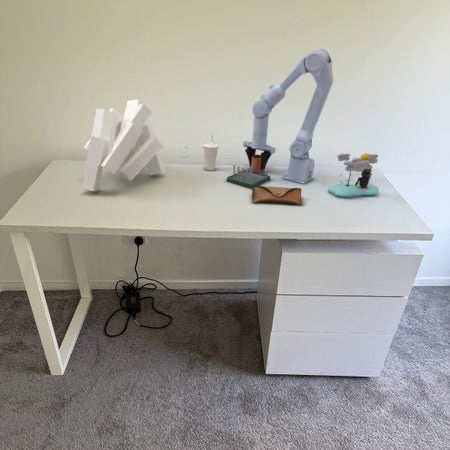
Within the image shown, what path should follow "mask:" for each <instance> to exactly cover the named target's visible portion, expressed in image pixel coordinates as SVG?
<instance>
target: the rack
mask: <svg viewBox="0 0 450 450" xmlns="http://www.w3.org/2000/svg"><path fill="white" fill-rule="evenodd" d="M232 170H233V171H232V174H231V175H229V176H227V177H226V182H227V183H231V184H234V185H238V186H241V187H244V188H247V189H251V190H253V187H254V186H262V185H263V184H265V183H267V182H269V181H271V175H268V173H269V171H268V170H266V171H265V174H264V173H257V172H254V171H252V167H250V166H249V168H245V169H244V166H243V167H241V170H240V166H239V165H238V166H237V172H236V165H235V164H233V169H232Z"/></svg>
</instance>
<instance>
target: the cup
mask: <svg viewBox="0 0 450 450" xmlns="http://www.w3.org/2000/svg"><path fill="white" fill-rule="evenodd" d="M251 167H252V171H254V172H257V173H261V174H263V173H264V170H261V154H255V155H252V159H251Z"/></svg>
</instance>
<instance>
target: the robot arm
mask: <svg viewBox="0 0 450 450" xmlns="http://www.w3.org/2000/svg"><path fill="white" fill-rule="evenodd" d="M332 64H333V60H332V58H331V56H330V53H329V52H328V51H327V49H323V48H321V49H318V50H312V51H310V52H308V54H307V55H306V56H304V57H303V58H301V60H300V61H299V62H298V63H297V64H296V65H295V66H294V67H293V68H292V70H291V71H290V72H289V73H288V74H287V75H286V76H285V78H283V80H282V81H280V83H274V84H271V85H270V86H269V87H268V90H267V91H266V92H265V94H262V95H261V96H260V97H259V98H260V99H259V100H256V101H255V102H254V103H253V106H252V114H253V127H252V141H249V140H248V141H247V140H245V141H242V148H245V149H244V152H245V154H246V156H247V160H248V166H249V168H250V167H251V159H252V155H256V152H257V150H258V151H262V152H261V153H260V155H261V170H263V171H264V170H265V169H266V167H267V164H268V162H269V160H270V158H271V156H272V155H273V154H275V153H276V149H277V148H276V147H273V146H271V145H268V144H267V141H268V140H267V139H268V129H269V117H270V114H271V113H272V110H273V109H274V108H275V107H276V106H277V105H278V104H279V103H280V102H281V101H283V99H284V98H285V97H286V91H287V90H288V89H289V88H290V87H291V86H293V84H294V83H296V82H297V81H298V80H299V79H300V78H301V77H302V76H303V75H305V74H310V75H311V76H312V77H313V79H314V81H315V84H316V87H315V90H314V92H313V95H312V96H311V100H310V103H309V105H308V108H307V110H306V111H307V112H306V114H305V117H304V119H303V122H302V124H301V127H300V130H299V131H298V133H297V135H296V136H295V139H294V140H293V142H291V144H290V146H289V152H290V157H289V162H288V163H289V164H288V171H287V175H284V176H283V177H282V178H283V179H284V180H288V181H291V182H295V183H299V184H301V185H304V184H307V183H308V182H310V181H311V180H313V179H314V178H313V175H314V169H315V159H313V158H311V157H310V154H309V151H310V150H311V149H312V146H313V138H314V132H315V129H316V127H317V124H318V121H319V119H320V117H321V114H322V112H323V109H324V106H325V103H326V102H327V99H328V96H329V94H330V91H331V89H332V86H333V83H334V75H333V65H332Z"/></svg>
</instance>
